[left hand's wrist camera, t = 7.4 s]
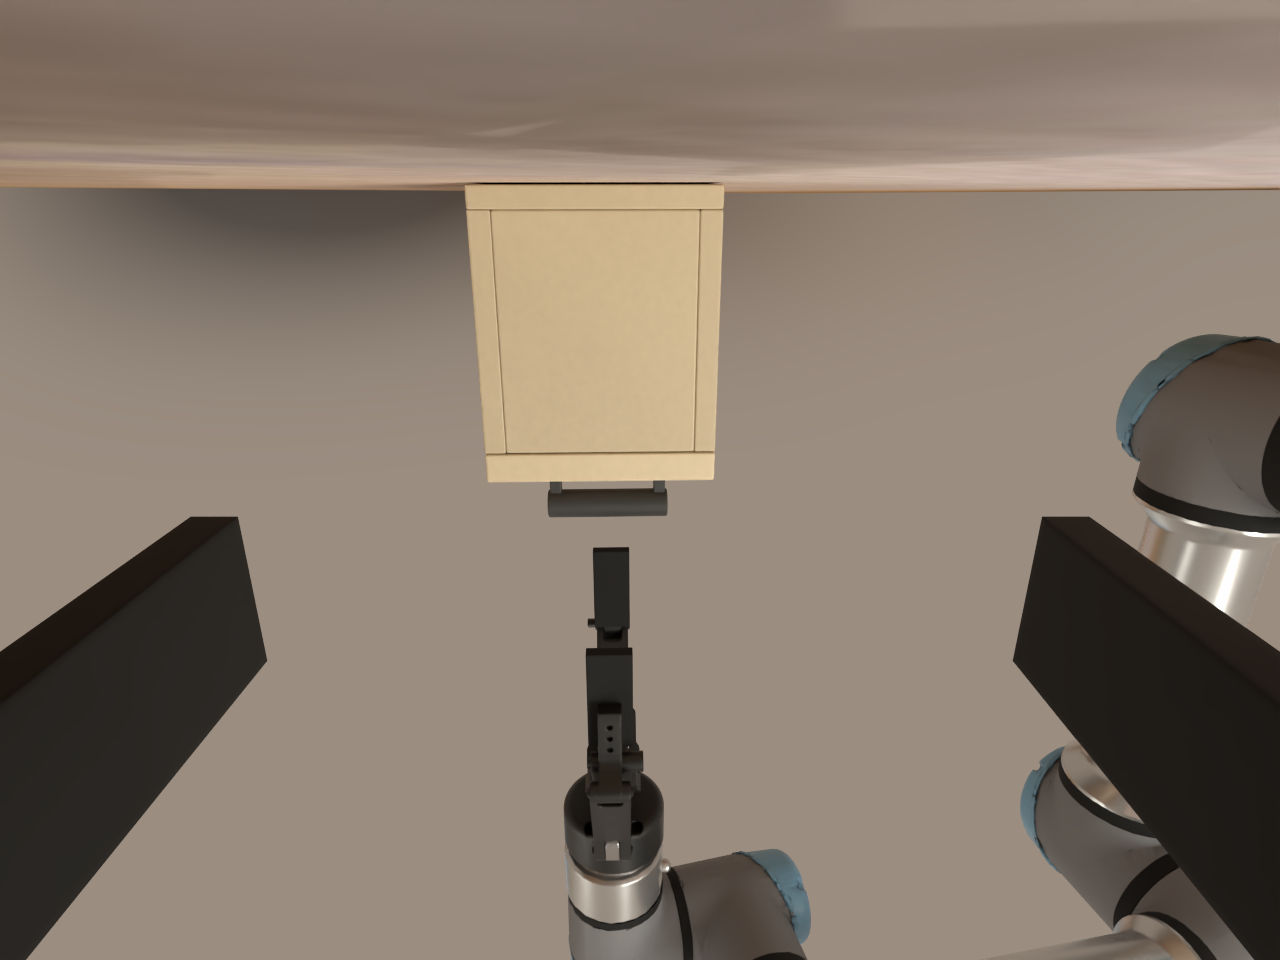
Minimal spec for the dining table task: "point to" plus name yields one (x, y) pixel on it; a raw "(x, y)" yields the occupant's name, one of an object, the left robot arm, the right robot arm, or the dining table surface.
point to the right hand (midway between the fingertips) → (610, 593)
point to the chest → (596, 315)
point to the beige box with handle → (602, 478)
